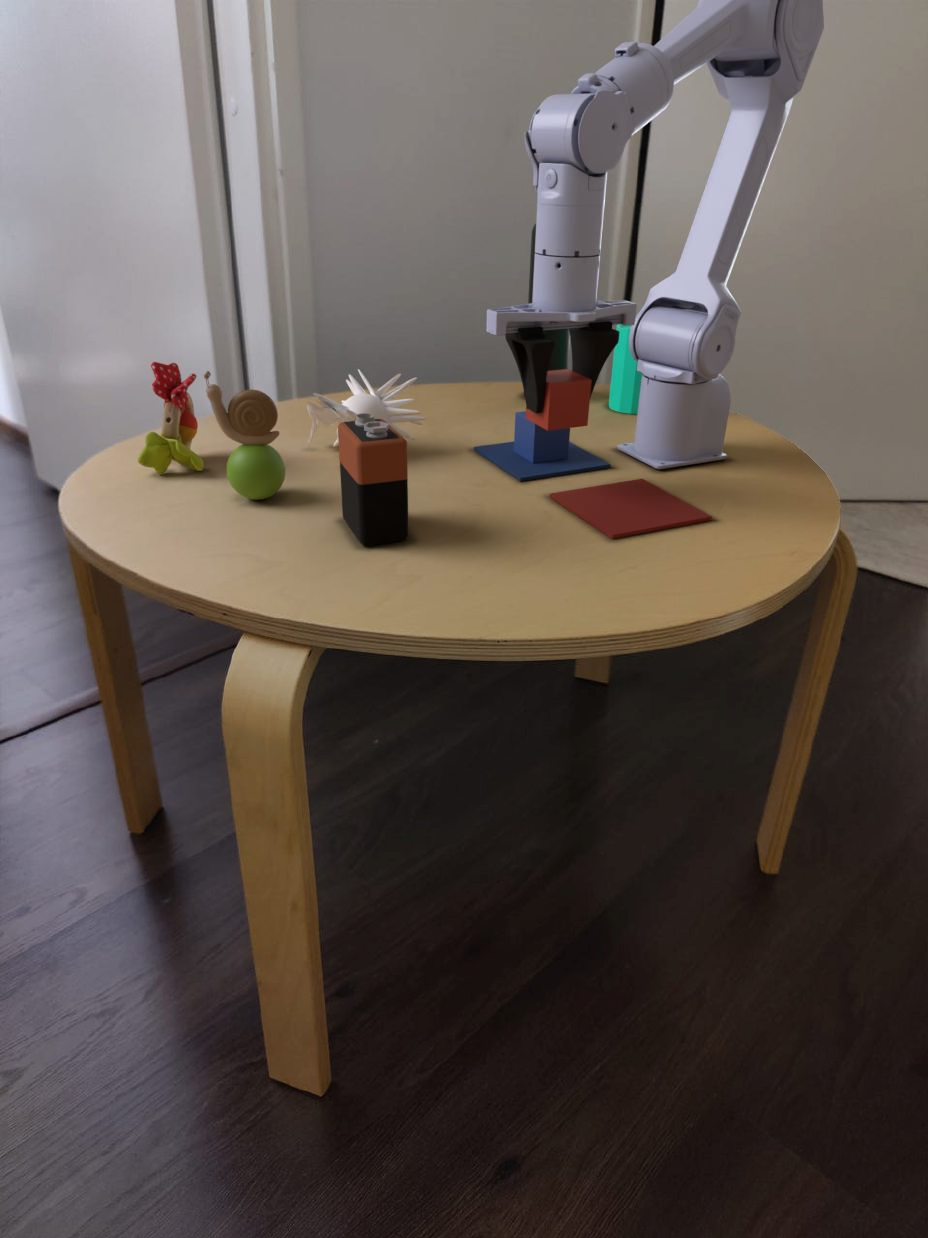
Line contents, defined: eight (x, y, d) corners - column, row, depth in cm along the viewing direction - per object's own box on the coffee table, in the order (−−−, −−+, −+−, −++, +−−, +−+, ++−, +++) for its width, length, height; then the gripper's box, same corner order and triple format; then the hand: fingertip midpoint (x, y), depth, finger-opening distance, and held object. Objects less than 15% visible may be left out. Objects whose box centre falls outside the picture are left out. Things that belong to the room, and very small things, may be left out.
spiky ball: (293, 454, 98) (278, 380, 93) (382, 426, 104) (372, 355, 99) (342, 480, 90) (329, 402, 85) (435, 448, 96) (428, 373, 91)
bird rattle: (155, 478, 93) (132, 471, 84) (150, 373, 92) (126, 355, 83) (214, 477, 94) (197, 471, 85) (210, 373, 93) (192, 355, 84)
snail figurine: (224, 488, 85) (208, 364, 79) (290, 487, 86) (279, 364, 80) (215, 508, 80) (197, 379, 75) (284, 507, 81) (272, 378, 75)
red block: (564, 413, 85) (567, 368, 83) (587, 425, 82) (591, 379, 80) (525, 418, 84) (527, 372, 81) (547, 431, 80) (550, 383, 78)
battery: (361, 548, 73) (356, 433, 68) (341, 519, 79) (335, 411, 74) (410, 541, 75) (408, 428, 70) (387, 513, 80) (384, 406, 75)
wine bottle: (568, 393, 119) (586, 146, 105) (562, 403, 114) (581, 146, 100) (527, 389, 120) (540, 145, 106) (520, 400, 116) (532, 145, 101)
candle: (654, 415, 110) (666, 317, 105) (607, 411, 111) (616, 314, 106) (654, 403, 116) (666, 309, 110) (609, 399, 117) (619, 306, 111)
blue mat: (557, 438, 101) (558, 435, 101) (610, 467, 92) (610, 464, 92) (473, 450, 97) (473, 446, 97) (520, 481, 88) (520, 477, 88)
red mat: (641, 482, 89) (642, 478, 88) (711, 520, 80) (712, 516, 80) (549, 497, 84) (549, 493, 84) (612, 539, 76) (612, 534, 76)
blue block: (547, 446, 97) (550, 408, 95) (568, 458, 94) (571, 418, 91) (513, 451, 95) (515, 412, 93) (532, 463, 92) (535, 423, 90)
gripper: (515, 262, 69) (508, 427, 76) (663, 255, 75) (644, 410, 82) (477, 252, 75) (474, 407, 82) (617, 247, 80) (604, 392, 87)
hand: (556, 407), depth 82 cm, fingers closed on red block, 4 cm apart
